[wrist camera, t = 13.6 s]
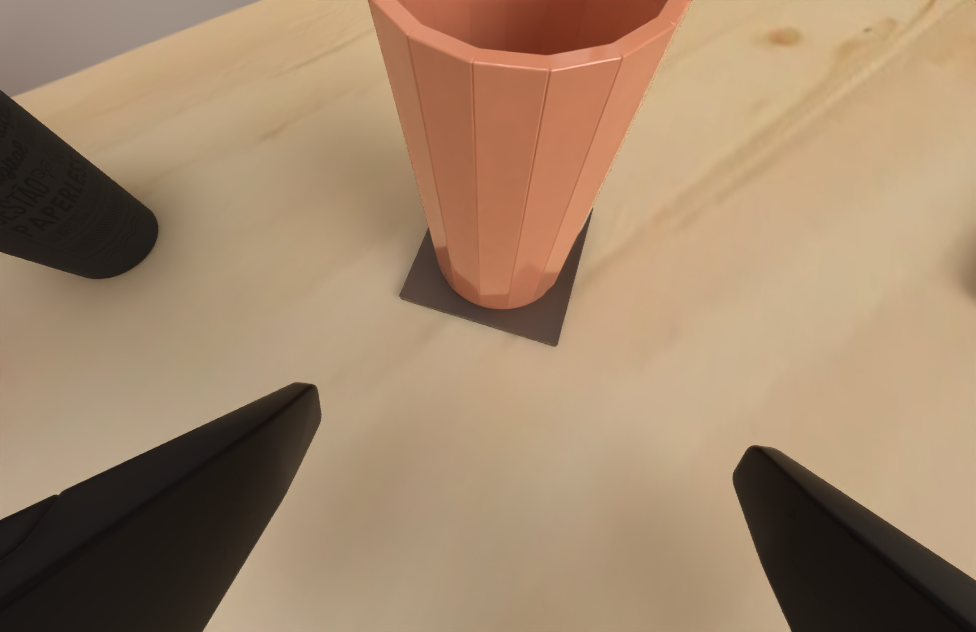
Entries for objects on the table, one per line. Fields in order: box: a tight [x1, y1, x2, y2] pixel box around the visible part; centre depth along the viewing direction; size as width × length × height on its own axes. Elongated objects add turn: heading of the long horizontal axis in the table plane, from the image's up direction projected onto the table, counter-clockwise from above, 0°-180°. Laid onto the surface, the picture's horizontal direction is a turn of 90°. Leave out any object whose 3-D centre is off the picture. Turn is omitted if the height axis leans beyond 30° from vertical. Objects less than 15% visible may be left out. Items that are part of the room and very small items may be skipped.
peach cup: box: [368, 0, 693, 309], centre depth 13 cm, size 7×7×12 cm
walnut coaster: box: [399, 208, 593, 346], centre depth 19 cm, size 8×8×1 cm
